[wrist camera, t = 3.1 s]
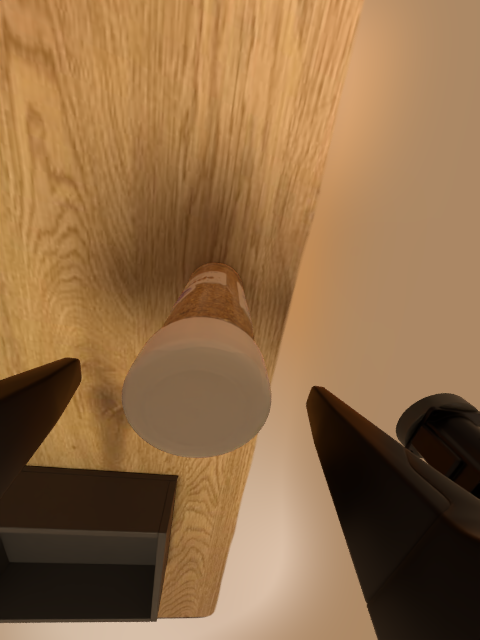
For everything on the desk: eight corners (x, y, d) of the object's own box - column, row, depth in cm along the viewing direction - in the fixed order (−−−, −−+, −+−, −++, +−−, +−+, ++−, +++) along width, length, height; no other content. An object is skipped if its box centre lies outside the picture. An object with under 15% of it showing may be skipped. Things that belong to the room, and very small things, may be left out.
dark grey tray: (177, 475, 28) (166, 533, 22) (166, 562, 35) (156, 621, 30) (-26, 462, 25) (-92, 524, 20) (8, 559, 32) (-34, 623, 27)
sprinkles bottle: (199, 252, 18) (141, 317, 6) (252, 275, 19) (302, 376, 7) (180, 303, 19) (100, 445, 7) (230, 323, 20) (236, 478, 8)
